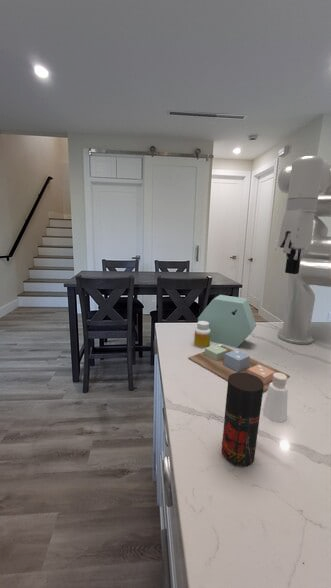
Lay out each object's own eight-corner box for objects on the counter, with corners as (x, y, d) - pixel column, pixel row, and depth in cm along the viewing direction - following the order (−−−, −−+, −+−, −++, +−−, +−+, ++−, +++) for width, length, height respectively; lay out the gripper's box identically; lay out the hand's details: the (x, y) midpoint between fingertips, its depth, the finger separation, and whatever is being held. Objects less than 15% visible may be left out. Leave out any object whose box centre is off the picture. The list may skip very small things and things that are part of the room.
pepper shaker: (265, 408, 63) (271, 366, 60) (289, 419, 59) (297, 374, 57) (256, 420, 58) (262, 375, 56) (282, 433, 55) (290, 385, 53)
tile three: (256, 376, 76) (258, 363, 75) (273, 385, 72) (275, 371, 71) (246, 382, 73) (247, 368, 72) (262, 391, 69) (264, 376, 68)
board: (221, 350, 93) (222, 345, 92) (288, 381, 74) (289, 375, 74) (188, 363, 83) (188, 357, 82) (255, 402, 65) (256, 395, 64)
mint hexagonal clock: (230, 352, 102) (266, 314, 92) (224, 360, 95) (263, 320, 86) (197, 322, 106) (229, 283, 97) (189, 328, 99) (222, 286, 90)
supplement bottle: (208, 353, 90) (210, 326, 88) (193, 351, 91) (194, 324, 89) (209, 346, 95) (211, 320, 93) (194, 344, 96) (196, 319, 94)
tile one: (214, 355, 88) (215, 343, 87) (226, 361, 84) (227, 349, 83) (203, 359, 85) (204, 347, 84) (215, 366, 81) (216, 353, 80)
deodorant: (217, 441, 52) (223, 372, 49) (247, 440, 53) (255, 372, 49) (226, 468, 46) (234, 391, 43) (259, 466, 47) (270, 390, 44)
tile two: (234, 361, 82) (235, 349, 81) (248, 368, 78) (249, 355, 77) (223, 366, 79) (225, 353, 78) (237, 373, 75) (239, 359, 74)
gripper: (300, 209, 80) (291, 269, 84) (273, 205, 71) (265, 273, 75) (327, 208, 74) (316, 273, 79) (301, 203, 65) (291, 277, 70)
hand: (291, 273), depth 77 cm, fingers closed
